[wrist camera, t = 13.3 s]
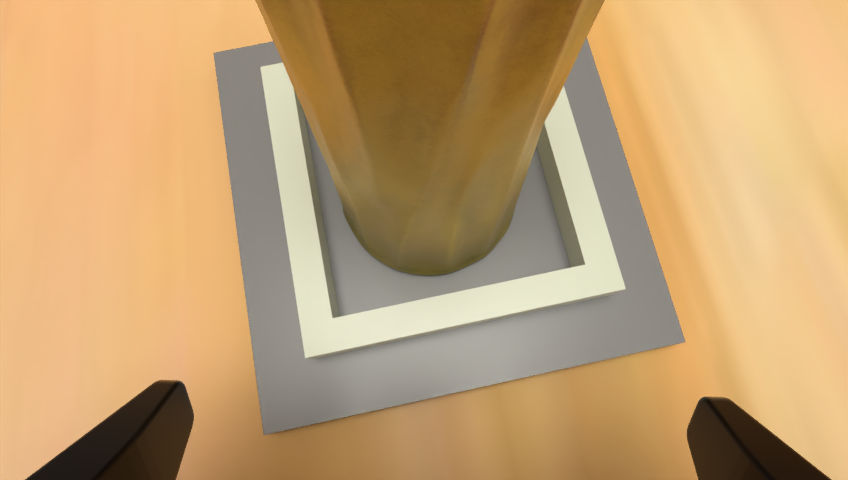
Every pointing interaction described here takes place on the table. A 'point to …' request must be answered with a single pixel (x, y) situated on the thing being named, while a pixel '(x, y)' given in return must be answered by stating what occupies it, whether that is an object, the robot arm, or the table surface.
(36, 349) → the table surface
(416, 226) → the vase
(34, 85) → the table surface
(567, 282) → the vase holder
